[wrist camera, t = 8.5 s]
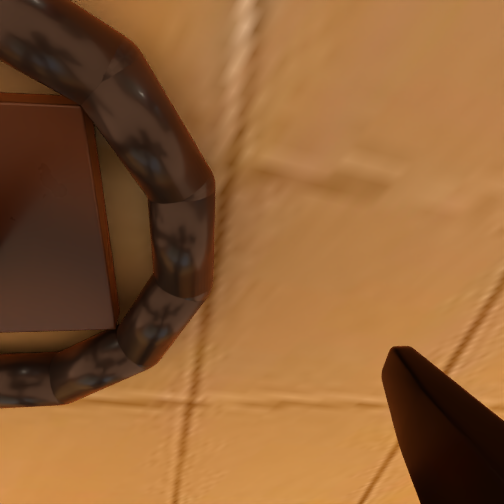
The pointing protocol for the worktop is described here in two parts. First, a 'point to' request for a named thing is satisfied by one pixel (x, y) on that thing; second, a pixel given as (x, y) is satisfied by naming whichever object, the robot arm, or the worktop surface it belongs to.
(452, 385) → the robot arm
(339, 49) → the worktop surface
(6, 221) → the post
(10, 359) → the ring
